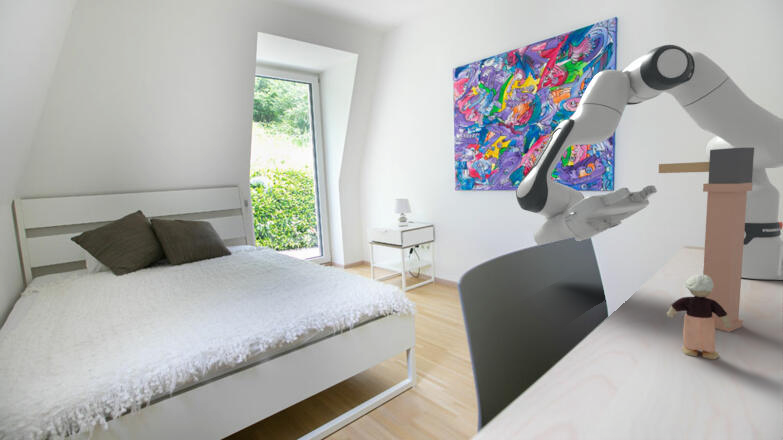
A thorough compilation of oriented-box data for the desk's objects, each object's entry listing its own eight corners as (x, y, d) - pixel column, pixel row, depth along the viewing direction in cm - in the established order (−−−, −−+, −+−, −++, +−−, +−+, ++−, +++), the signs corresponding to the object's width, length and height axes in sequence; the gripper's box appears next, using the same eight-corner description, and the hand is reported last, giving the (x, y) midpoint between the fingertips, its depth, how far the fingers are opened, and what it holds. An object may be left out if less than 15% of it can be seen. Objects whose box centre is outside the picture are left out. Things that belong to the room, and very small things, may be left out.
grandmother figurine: (722, 351, 59) (727, 273, 58) (731, 363, 56) (737, 279, 54) (663, 344, 62) (666, 269, 61) (668, 354, 59) (672, 275, 58)
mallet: (666, 183, 77) (668, 153, 76) (751, 182, 65) (754, 147, 65) (654, 183, 75) (655, 153, 75) (739, 183, 63) (741, 147, 63)
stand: (709, 317, 73) (717, 182, 70) (742, 326, 68) (752, 182, 65) (695, 322, 70) (703, 183, 68) (729, 332, 66) (738, 183, 63)
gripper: (553, 209, 88) (602, 178, 76) (609, 203, 97) (660, 174, 85) (564, 233, 86) (617, 206, 74) (620, 225, 95) (675, 199, 83)
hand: (640, 189), depth 80 cm, fingers open, 8 cm apart
